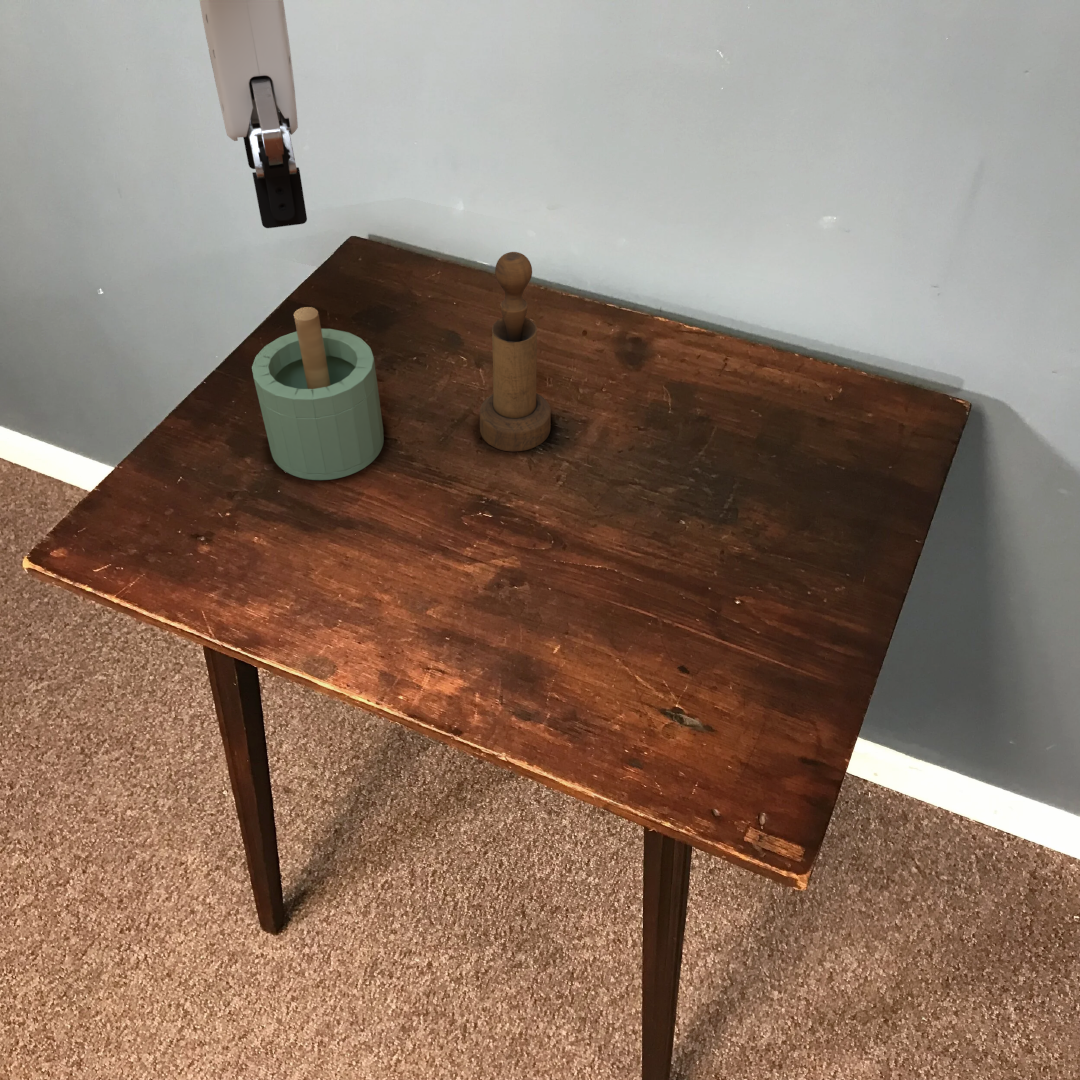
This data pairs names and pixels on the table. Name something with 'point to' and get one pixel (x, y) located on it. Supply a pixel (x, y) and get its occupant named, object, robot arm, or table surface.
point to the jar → (320, 407)
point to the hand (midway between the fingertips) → (277, 193)
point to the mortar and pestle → (514, 368)
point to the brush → (312, 347)
